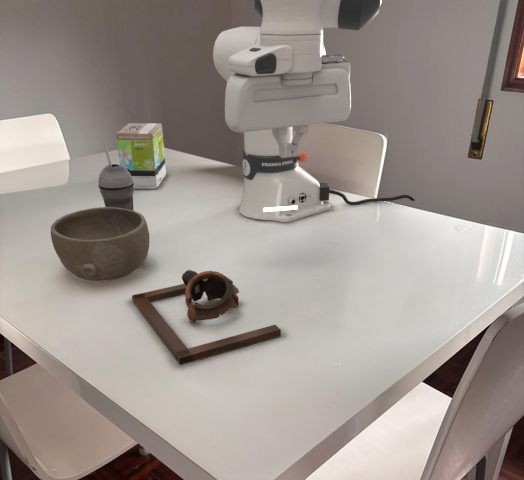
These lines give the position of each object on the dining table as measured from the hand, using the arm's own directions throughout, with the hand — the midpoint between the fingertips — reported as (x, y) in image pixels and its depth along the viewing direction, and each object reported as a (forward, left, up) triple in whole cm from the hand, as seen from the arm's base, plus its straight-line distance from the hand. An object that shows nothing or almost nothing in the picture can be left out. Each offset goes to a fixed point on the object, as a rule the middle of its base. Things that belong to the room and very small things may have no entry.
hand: (289, 156), depth 88 cm
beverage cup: (+18, -40, -23) cm, 50 cm away
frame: (+17, +2, -23) cm, 29 cm away
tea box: (0, -80, -23) cm, 83 cm away
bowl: (+26, -24, -23) cm, 42 cm away
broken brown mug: (+15, 0, -23) cm, 28 cm away
